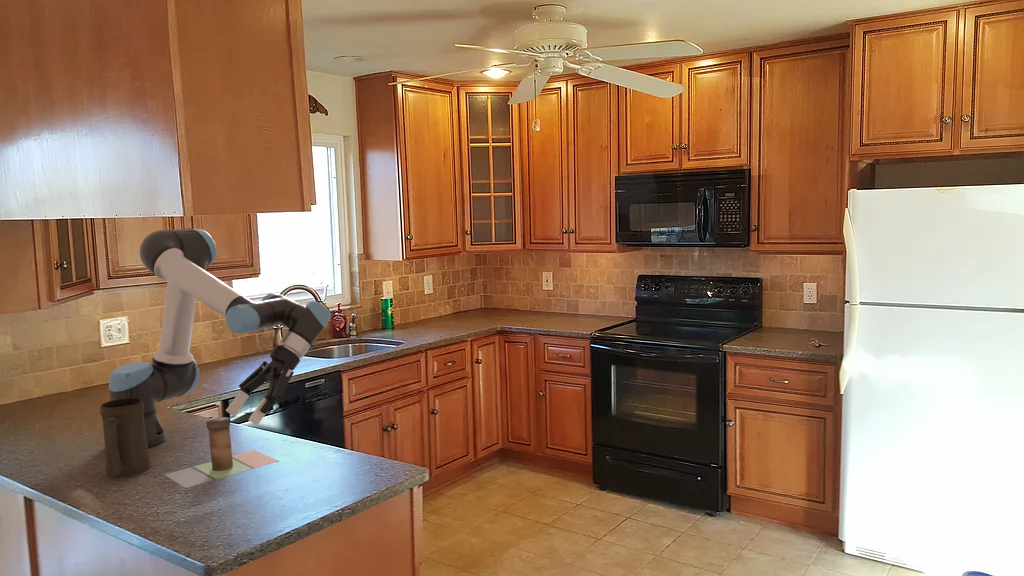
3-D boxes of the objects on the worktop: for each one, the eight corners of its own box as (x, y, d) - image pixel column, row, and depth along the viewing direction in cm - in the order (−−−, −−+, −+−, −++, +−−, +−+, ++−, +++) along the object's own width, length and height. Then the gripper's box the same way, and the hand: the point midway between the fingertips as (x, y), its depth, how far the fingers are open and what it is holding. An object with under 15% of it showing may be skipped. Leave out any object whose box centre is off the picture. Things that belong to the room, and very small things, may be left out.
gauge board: (164, 479, 183) (164, 474, 183) (255, 454, 200) (254, 449, 200) (186, 493, 173) (185, 487, 173) (279, 465, 190) (278, 460, 190)
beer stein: (109, 471, 191) (100, 399, 188) (154, 464, 195) (146, 393, 191) (99, 495, 177) (89, 417, 173) (148, 487, 181) (139, 411, 177)
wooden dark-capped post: (207, 468, 186) (202, 421, 185) (228, 462, 190) (224, 416, 189) (216, 472, 182) (211, 425, 181) (237, 466, 186) (233, 419, 185)
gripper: (322, 365, 190) (273, 434, 181) (277, 354, 208) (231, 417, 199) (302, 349, 186) (251, 419, 177) (258, 339, 204) (210, 402, 195)
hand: (240, 418), depth 188 cm, fingers open, 13 cm apart
